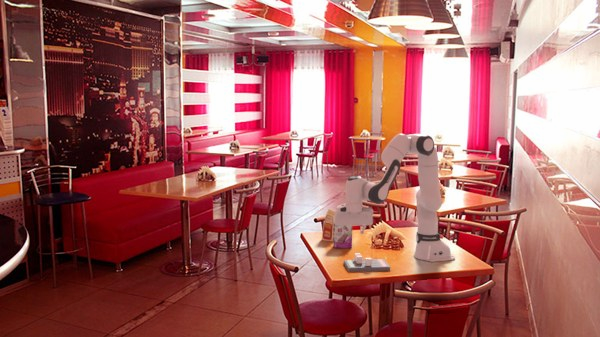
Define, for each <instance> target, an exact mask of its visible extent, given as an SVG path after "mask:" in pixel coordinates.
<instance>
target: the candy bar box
mask: <svg viewBox="0 0 600 337" xmlns="http://www.w3.org/2000/svg"><path fill="white" fill-rule="evenodd" d="M343 229H344V230H346V234H343V230H342V228H341V226H336V225H335V224H334V241H333V248H334V249H352V248H353V247H352V246H353V225H344V227H343Z"/></svg>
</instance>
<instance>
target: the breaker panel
mask: <svg viewBox="0 0 600 337" xmlns="http://www.w3.org/2000/svg"><path fill="white" fill-rule="evenodd" d="M371 259H372V266H366V265H365V259H363V262H362V263H359V264H357V263H356V261H355V260H354V259H343V264H344V266H345V269H346V270H347V271H348V273H349V272H388V271H390V272H391V266H390V265H389V264H388V262H387V261H386V260H385V259H384V258H376V259H375V258H371Z"/></svg>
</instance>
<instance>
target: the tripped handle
mask: <svg viewBox="0 0 600 337" xmlns="http://www.w3.org/2000/svg"><path fill="white" fill-rule="evenodd" d="M372 259H373V258H372V257H365V265H366V266H372Z"/></svg>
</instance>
